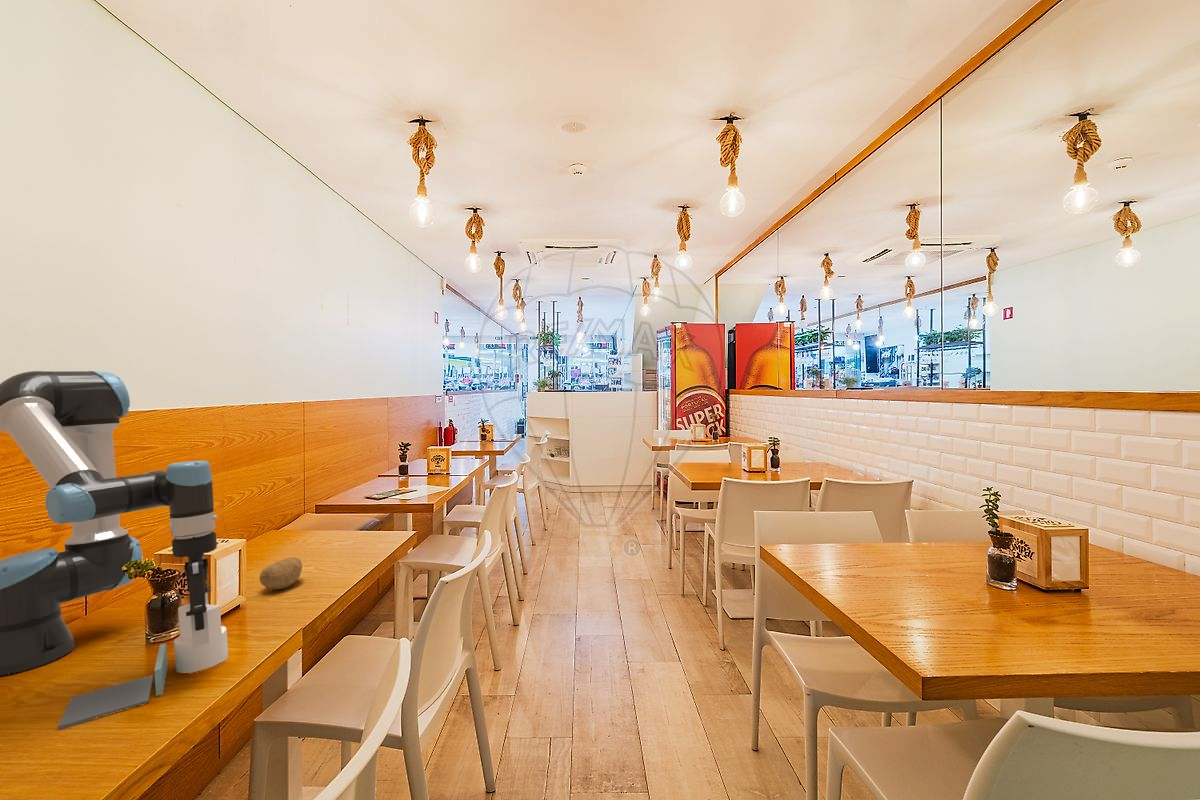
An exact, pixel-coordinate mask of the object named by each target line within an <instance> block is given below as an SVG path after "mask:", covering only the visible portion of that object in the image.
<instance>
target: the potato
mask: <svg viewBox="0 0 1200 800" xmlns="http://www.w3.org/2000/svg"><path fill="white" fill-rule="evenodd" d="M302 571H303V563H302V560H300V559H299V558H298V557H286V558H284V559H282V560H278V561H276V562H274V563H272V564H269V565H268V566H266V567H265V568H264V569H262V570H261V571H260V574H259V581H260V584H261V585H262V586H264V587H265V588H266V589H270V590H281V589H282V590H283V589H287V588H289V587H291V586H292V585H293V584H294V583H295V582H297V580H299V578H300V577H301V574H302Z"/></svg>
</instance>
